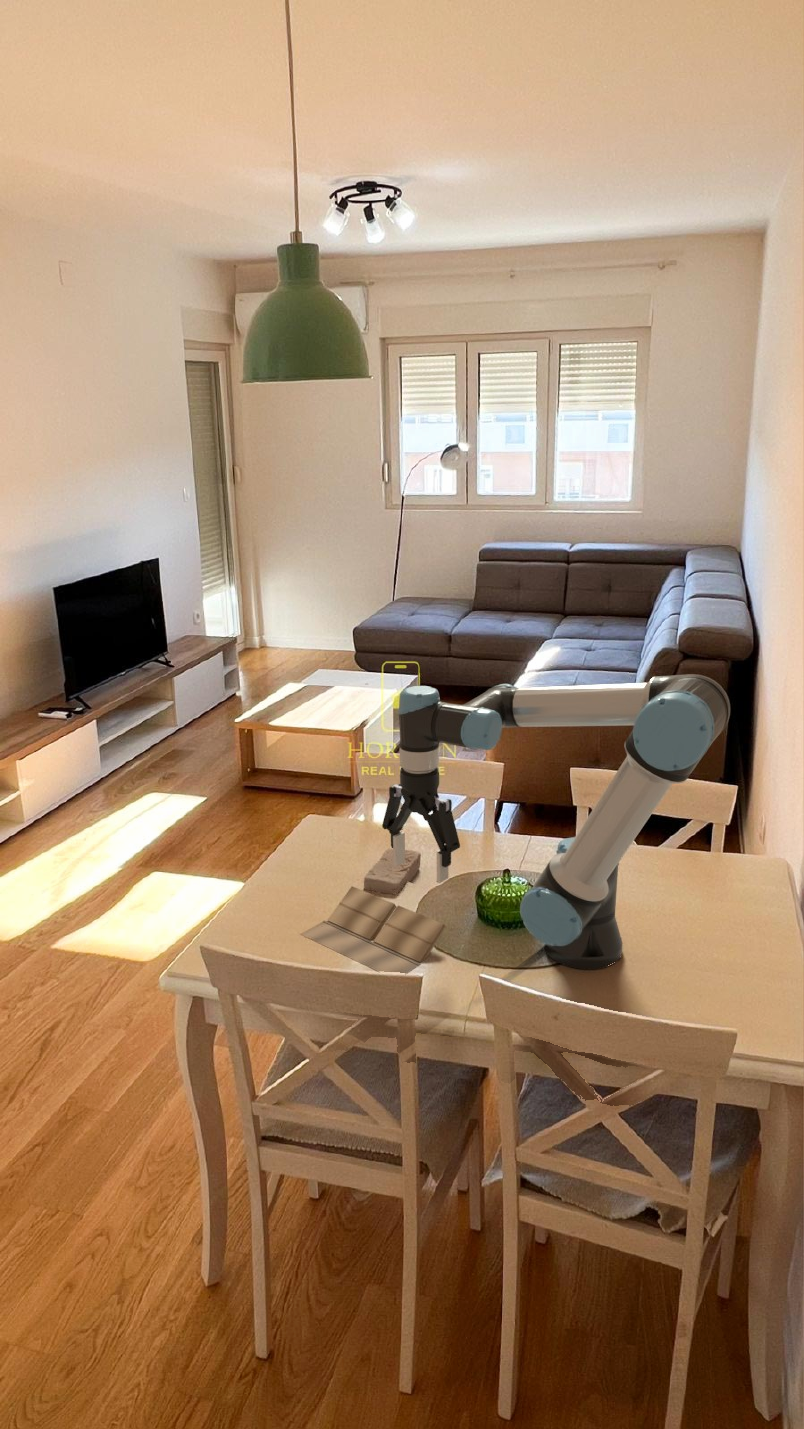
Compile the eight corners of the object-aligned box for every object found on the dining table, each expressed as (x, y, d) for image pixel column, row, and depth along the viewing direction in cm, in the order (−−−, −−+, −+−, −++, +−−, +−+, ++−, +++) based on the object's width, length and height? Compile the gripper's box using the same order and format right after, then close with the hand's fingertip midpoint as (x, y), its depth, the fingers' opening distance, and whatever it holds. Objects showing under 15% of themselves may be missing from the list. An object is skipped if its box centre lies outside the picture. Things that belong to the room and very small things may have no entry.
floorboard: (420, 970, 191) (420, 963, 191) (396, 986, 186) (396, 979, 186) (324, 926, 207) (324, 920, 207) (300, 940, 202) (300, 933, 202)
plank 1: (396, 906, 204) (394, 903, 203) (372, 942, 200) (369, 939, 199) (354, 889, 211) (351, 885, 211) (329, 923, 207) (327, 919, 207)
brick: (397, 901, 218) (397, 882, 216) (362, 895, 220) (361, 876, 219) (421, 869, 233) (421, 851, 231) (388, 864, 235) (387, 846, 234)
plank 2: (446, 927, 196) (444, 924, 195) (421, 965, 192) (419, 961, 191) (400, 908, 203) (398, 905, 203) (375, 944, 199) (373, 940, 199)
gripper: (479, 775, 185) (478, 882, 192) (387, 748, 199) (389, 849, 206) (454, 787, 179) (454, 896, 186) (362, 759, 194) (365, 861, 200)
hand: (420, 871), depth 196 cm, fingers open, 10 cm apart
